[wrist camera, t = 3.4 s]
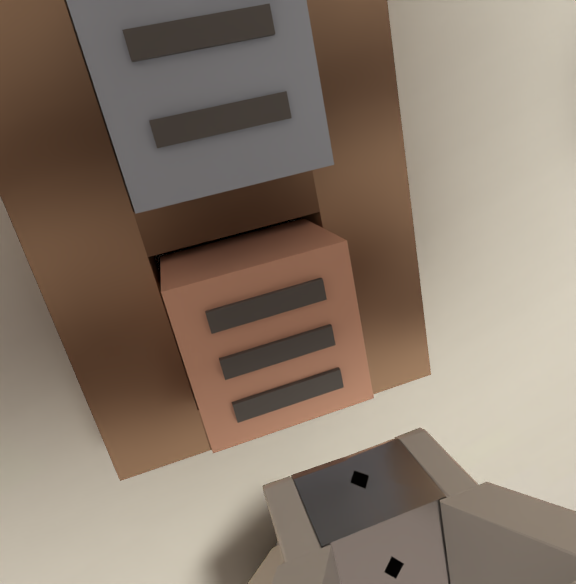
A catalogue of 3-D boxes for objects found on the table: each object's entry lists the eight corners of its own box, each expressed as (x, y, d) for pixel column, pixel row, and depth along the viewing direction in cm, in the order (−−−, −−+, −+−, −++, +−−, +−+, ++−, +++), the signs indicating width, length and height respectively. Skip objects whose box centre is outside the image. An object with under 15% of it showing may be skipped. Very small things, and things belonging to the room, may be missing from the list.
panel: (-204, -384, 11) (-304, -529, 8) (296, -396, 13) (326, -517, 10) (125, 438, 19) (120, 480, 16) (400, 348, 21) (430, 374, 18)
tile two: (85, 17, 13) (53, -37, 9) (258, -13, 14) (296, -73, 10) (141, 196, 15) (135, 214, 11) (292, 159, 16) (336, 164, 12)
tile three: (160, 256, 15) (161, 294, 12) (304, 218, 16) (349, 241, 12) (201, 386, 17) (213, 456, 13) (329, 345, 18) (376, 400, 14)
